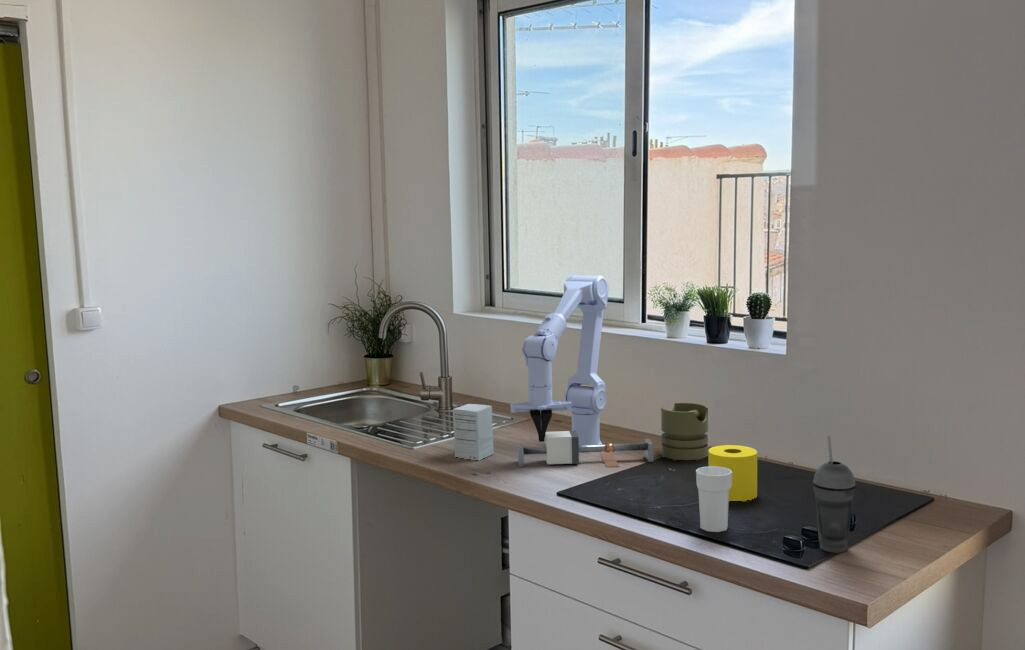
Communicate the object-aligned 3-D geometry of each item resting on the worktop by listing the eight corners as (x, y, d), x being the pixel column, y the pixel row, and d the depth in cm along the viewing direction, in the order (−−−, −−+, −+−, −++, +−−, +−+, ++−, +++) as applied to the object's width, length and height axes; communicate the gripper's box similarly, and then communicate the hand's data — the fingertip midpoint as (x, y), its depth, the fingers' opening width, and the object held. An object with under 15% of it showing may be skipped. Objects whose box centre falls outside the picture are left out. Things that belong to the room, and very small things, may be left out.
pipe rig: (519, 470, 220) (518, 451, 219) (517, 458, 231) (517, 440, 230) (655, 465, 221) (655, 446, 220) (647, 453, 232) (647, 435, 231)
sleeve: (547, 464, 223) (546, 437, 222) (545, 457, 229) (544, 431, 228) (572, 463, 223) (571, 436, 222) (569, 456, 229) (569, 431, 228)
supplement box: (470, 451, 239) (468, 402, 238) (494, 454, 235) (493, 405, 234) (453, 458, 233) (452, 408, 231) (478, 461, 229) (476, 411, 228)
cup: (692, 522, 180) (692, 467, 179) (725, 520, 180) (725, 465, 179) (701, 534, 173) (701, 476, 172) (736, 532, 174) (736, 475, 173)
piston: (717, 406, 228) (690, 414, 220) (717, 454, 230) (691, 463, 222) (678, 400, 236) (651, 408, 228) (678, 447, 238) (652, 455, 230)
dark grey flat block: (572, 463, 222) (571, 437, 222) (569, 456, 229) (569, 430, 228) (579, 463, 222) (578, 437, 222) (576, 456, 229) (575, 430, 228)
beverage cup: (838, 558, 160) (840, 444, 157) (803, 547, 165) (804, 437, 163) (863, 548, 164) (865, 437, 161) (828, 537, 170) (829, 430, 167)
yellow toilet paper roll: (707, 487, 203) (707, 444, 202) (755, 488, 201) (755, 445, 200) (709, 501, 193) (709, 456, 192) (759, 502, 191) (759, 457, 190)
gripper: (510, 389, 219) (512, 445, 221) (571, 387, 220) (573, 443, 221) (509, 383, 226) (511, 438, 228) (569, 382, 227) (570, 436, 228)
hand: (541, 440), depth 225 cm, fingers closed
